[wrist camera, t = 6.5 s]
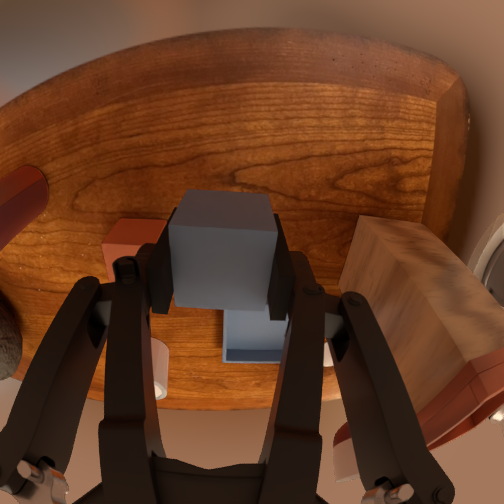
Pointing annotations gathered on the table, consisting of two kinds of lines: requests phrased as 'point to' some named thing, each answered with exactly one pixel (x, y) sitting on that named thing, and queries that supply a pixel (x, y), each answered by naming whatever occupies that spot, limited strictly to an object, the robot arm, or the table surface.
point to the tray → (252, 337)
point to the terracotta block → (129, 239)
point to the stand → (431, 323)
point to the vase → (9, 342)
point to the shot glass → (160, 367)
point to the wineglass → (342, 444)
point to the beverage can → (20, 201)
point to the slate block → (222, 250)
